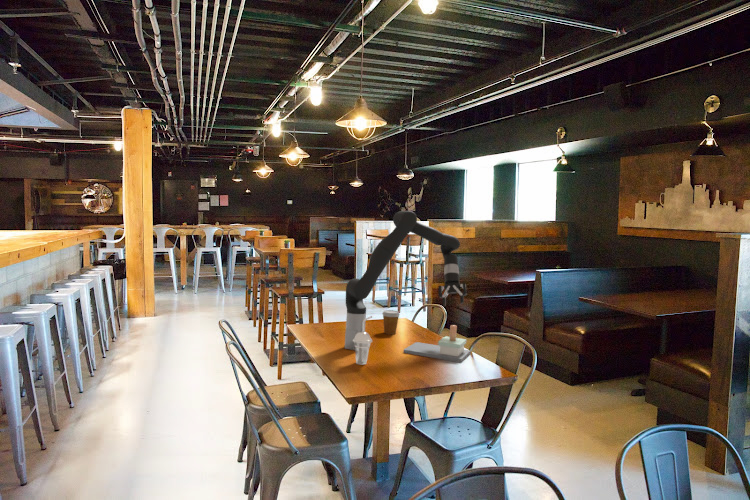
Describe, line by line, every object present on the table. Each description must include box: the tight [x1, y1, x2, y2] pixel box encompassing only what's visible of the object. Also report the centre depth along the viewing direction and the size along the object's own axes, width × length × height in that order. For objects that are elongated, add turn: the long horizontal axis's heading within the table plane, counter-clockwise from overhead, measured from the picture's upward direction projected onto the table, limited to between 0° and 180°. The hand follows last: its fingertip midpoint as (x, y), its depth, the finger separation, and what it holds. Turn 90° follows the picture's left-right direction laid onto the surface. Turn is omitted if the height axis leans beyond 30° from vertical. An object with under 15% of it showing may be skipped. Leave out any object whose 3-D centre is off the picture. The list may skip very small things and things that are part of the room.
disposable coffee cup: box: [382, 309, 400, 335], centre depth 276 cm, size 10×10×12 cm
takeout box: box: [439, 345, 465, 356], centre depth 236 cm, size 11×9×5 cm
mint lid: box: [437, 324, 467, 349], centre depth 236 cm, size 12×10×9 cm
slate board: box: [402, 341, 472, 363], centre depth 239 cm, size 18×28×2 cm, turn 66°
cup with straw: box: [353, 315, 373, 366], centre depth 215 cm, size 8×9×20 cm
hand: (453, 304), depth 251 cm, fingers open, 8 cm apart
